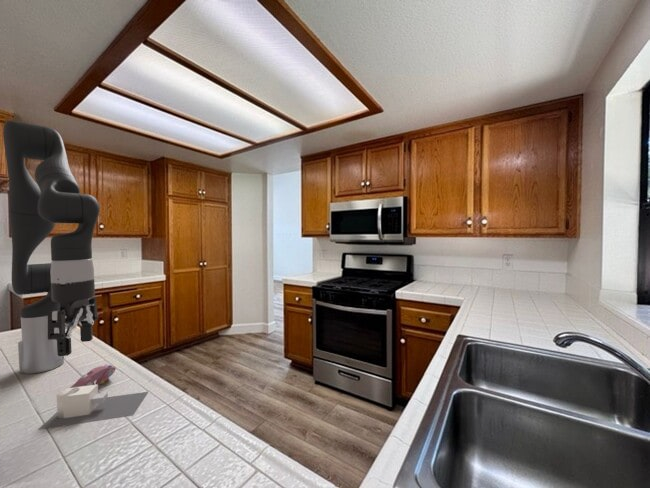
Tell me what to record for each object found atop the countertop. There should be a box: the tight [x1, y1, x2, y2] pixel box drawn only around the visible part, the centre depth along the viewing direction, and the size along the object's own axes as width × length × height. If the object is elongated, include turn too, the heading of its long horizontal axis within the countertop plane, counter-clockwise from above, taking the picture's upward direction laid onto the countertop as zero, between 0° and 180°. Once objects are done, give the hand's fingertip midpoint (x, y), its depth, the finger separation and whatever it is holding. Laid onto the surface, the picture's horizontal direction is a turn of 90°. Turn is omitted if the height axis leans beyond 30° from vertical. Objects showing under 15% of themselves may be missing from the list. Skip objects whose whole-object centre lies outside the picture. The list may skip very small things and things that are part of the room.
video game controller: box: [69, 363, 116, 388], centre depth 77 cm, size 10×5×7 cm, turn 169°
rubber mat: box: [38, 391, 149, 431], centre depth 67 cm, size 18×10×1 cm, turn 105°
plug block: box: [56, 384, 109, 418], centre depth 67 cm, size 9×4×5 cm, turn 104°
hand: (76, 347), depth 66 cm, fingers open, 8 cm apart
